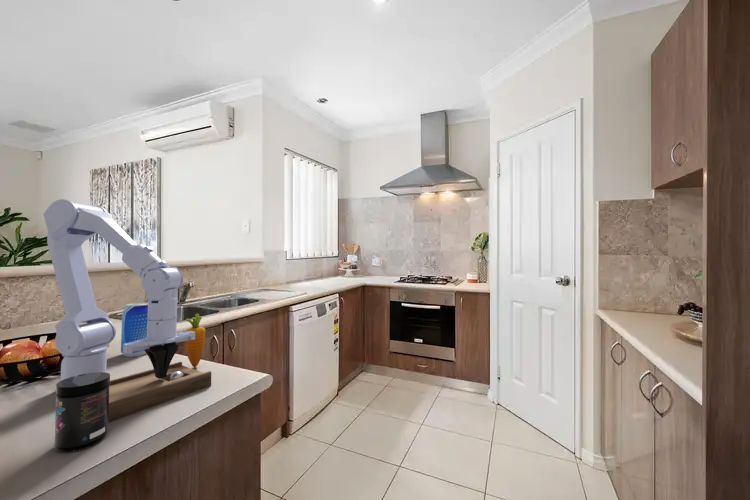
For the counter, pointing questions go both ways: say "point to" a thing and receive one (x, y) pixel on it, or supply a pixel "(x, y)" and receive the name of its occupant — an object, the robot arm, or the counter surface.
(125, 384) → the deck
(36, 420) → the counter surface
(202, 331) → the carrot
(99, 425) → the supplement container
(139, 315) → the beer can
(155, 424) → the counter surface
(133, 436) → the counter surface
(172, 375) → the ball
